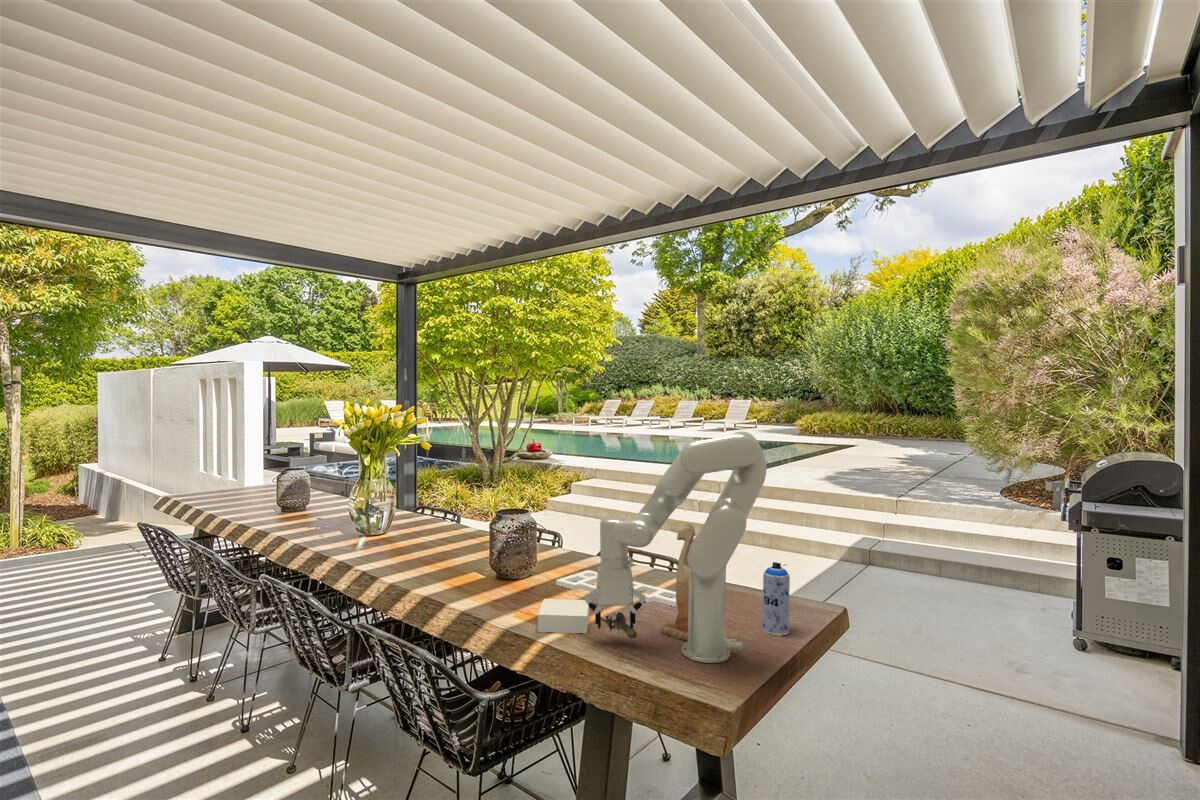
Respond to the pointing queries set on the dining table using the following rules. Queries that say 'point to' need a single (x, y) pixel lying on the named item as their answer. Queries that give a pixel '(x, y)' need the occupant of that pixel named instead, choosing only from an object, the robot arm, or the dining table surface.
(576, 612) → the stand
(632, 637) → the eagle figurine
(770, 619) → the aerosol can
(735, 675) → the dining table surface
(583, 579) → the holder
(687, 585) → the bird sculpture
